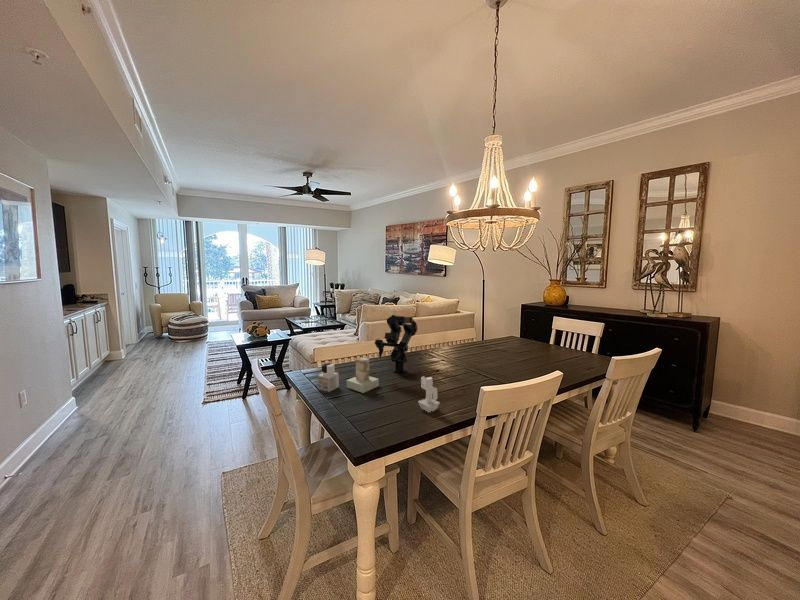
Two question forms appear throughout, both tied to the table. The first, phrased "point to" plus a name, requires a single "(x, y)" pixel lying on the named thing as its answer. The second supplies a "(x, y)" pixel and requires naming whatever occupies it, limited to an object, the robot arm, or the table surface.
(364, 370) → the maple block
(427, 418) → the table surface
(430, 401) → the figurine
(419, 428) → the table surface
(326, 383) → the container
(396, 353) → the robot arm
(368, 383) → the sage base block
